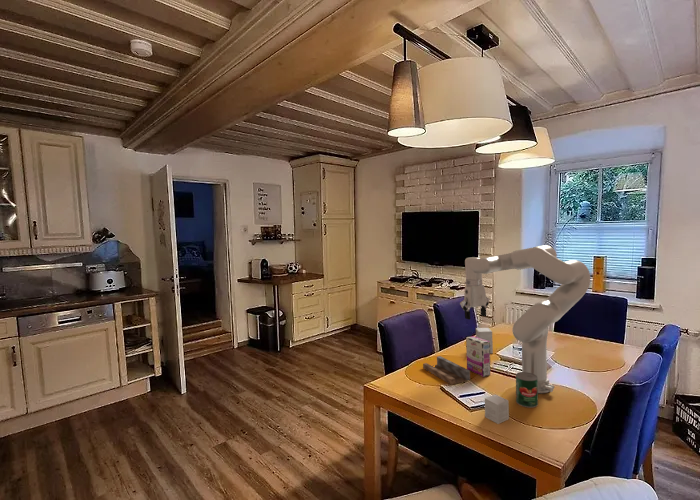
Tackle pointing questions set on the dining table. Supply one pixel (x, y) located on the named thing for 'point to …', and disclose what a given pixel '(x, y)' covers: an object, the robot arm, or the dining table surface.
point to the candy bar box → (478, 355)
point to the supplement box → (485, 336)
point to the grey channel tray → (448, 371)
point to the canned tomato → (527, 389)
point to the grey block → (496, 409)
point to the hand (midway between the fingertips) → (475, 317)
